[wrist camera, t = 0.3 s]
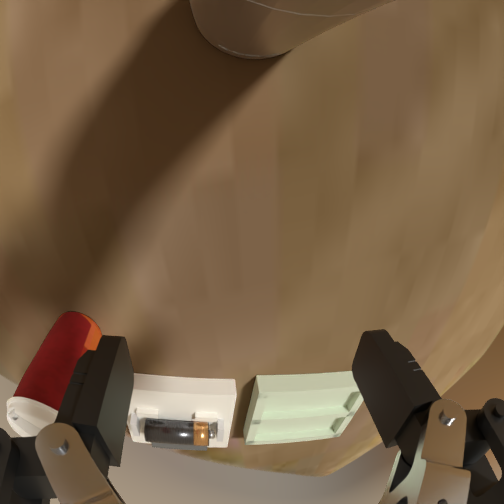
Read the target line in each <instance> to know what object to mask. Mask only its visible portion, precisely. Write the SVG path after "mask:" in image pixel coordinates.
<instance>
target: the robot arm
mask: <svg viewBox="0 0 504 504" xmlns="http://www.w3.org/2000/svg"><path fill="white" fill-rule="evenodd" d="M189 1H190V5H191V9H192V13H193V16H194V19H195V22H196V25H197V27H198V29H199V31H200V32H201V34H202V35H203V37H204V38H205V39H206V40H207V41H208V42H209V43H210V44H212V45H213V46H215V47H216V48H218V49H219V50H221V51H223V52H225V53H227V54H230V55H232V56H236V57H240V58H245V59H264V58H272V57H275V56H278V55H281V54H284V53H285V52H287V51H289V50H291V49H293V48H295V47H296V46H298V45H301V44H303V43H304V42H306V41H308V40H310V39H312V38H314V37H316V36H318V35H320V34H322V33H323V32H325V31H327V30H329V29H331V28H333V27H336V26H338V25H340V24H342V23H344V22H346V21H348V20H350V19H352V18H355V17H357V16H359V15H361V14H364V13H366V12H368V11H371V10H373V9H375V8H377V7H379V6H382V5H384V4H387V3H389V2H392V1H395V0H189ZM352 374H353V378H354V380H355V382H356V385H357V387H358V389H359V391H360V393H361V395H362V397H363V399H364V401H365V404H366V406H367V408H368V410H369V412H370V414H371V416H372V419H373V421H374V423H375V425H376V427H377V429H378V432H379V434H380V436H381V438H382V440H383V443H384V444H385V447H386V448H389V447H392V446H396V445H398V446H399V448H400V450H399V452H398V453H397V456H396V459H395V463H394V466H393V469H392V472H391V475H390V478H389V481H388V484H387V486H386V489H385V492H384V495H383V497H382V499H381V500H380V502H379V504H504V401H503V400H501V399H497V398H493V399H490V400H488V401H487V402H486V403H485V405H484V406H483V408H482V409H481V410H464V409H463V408H462V407H461V406H460V405H459V404H458V403H456V402H454V401H452V400H449V399H442V398H441V397H440V396H439V394H438V392H437V391H436V389H435V388H434V386H433V385H432V383H431V382H430V380H429V379H428V378H427V376H426V375H425V373H424V372H423V370H421V367H420V366H419V364H418V363H417V362H415V359H414V357H413V356H412V354H411V353H410V351H409V350H408V349H407V348H405V347H404V346H403V345H401V344H400V343H399V342H398V341H397V342H394V340H393V339H392V338H391V336H390V335H389V333H388V332H387V331H386V330H384V329H381V330H372V331H365V332H364V333H363V334H362V336H361V339H360V343H359V346H358V349H357V351H356V354H355V357H354V360H353V364H352ZM69 382H70V383H69V384H68V386H67V389H66V392H65V394H64V397H63V400H62V403H61V405H60V408H59V411H58V414H57V417H56V419H55V422H54V423H53V424H49V425H47V426H45V427H44V428H43V429H42V430H41V431H40V432H39V433H38V435H37V436H32V437H16V438H11V437H10V436H9V435H8V434H7V432H6V431H4V430H3V429H2V428H0V504H50V499H51V498H58V500H59V502H60V504H126V503H125V502H124V500H123V499H122V498H121V496H120V495H119V493H118V492H117V490H116V489H115V488H114V486H113V484H112V483H111V481H110V480H109V478H108V477H107V476H108V469H109V465H110V466H117V467H120V463H121V455H122V449H123V442H124V436H125V430H126V424H127V419H128V413H129V408H130V402H131V397H132V392H133V387H134V372H133V367H132V363H131V359H130V355H129V350H128V346H127V342H126V339H125V337H122V336H105V335H103V336H102V337H101V338H100V341H99V343H98V346H97V348H96V350H87V351H86V352H85V353H84V354H83V355H82V356H81V357H80V358H79V359H78V361H77V363H76V366H75V368H74V371H73V374H72V376H71V378H70V381H69ZM490 448H491V450H492V452H493V454H494V456H495V458H496V460H497V461H498V463H499V465H500V467H501V470H502V477H501V479H500V481H498V480H497V478H496V476H495V474H494V472H493V470H492V468H491V466H490V464H489V462H488V460H487V458H486V456H485V453H486V452H487V451H488V450H489V449H490Z"/></svg>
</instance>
